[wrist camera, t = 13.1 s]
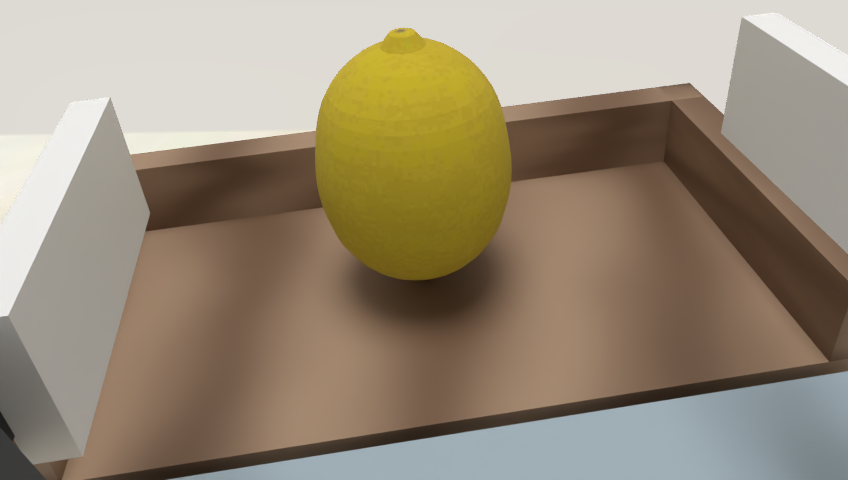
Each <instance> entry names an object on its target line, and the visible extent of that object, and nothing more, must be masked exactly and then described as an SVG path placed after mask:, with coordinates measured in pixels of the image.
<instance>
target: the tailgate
mask: <svg viewBox="0 0 848 480" xmlns="http://www.w3.org/2000/svg"><path fill="white" fill-rule="evenodd" d="M168 480H848V371H846V372H840V373H834V374H827V375H821V376H815V377H809V378H802V379H796V380H790V381H783V382H777V383H771V384H765V385H758V386H752V387H746V388H740V389H733V390H727V391H721V392H714V393H708V394H702V395H696V396H689V397H683V398H677V399H670V400H664V401H658V402H652V403H645V404H639V405H633V406H627V407H620V408H614V409H608V410H601V411H595V412H589V413H583V414H576V415H570V416H564V417H557V418H551V419H545V420H539V421H532V422H526V423H520V424H514V425H507V426H501V427H495V428H488V429H482V430H476V431H470V432H463V433H457V434H451V435H444V436H438V437H432V438H426V439H419V440H413V441H407V442H401V443H394V444H388V445H382V446H375V447H369V448H363V449H357V450H350V451H344V452H338V453H331V454H325V455H319V456H313V457H306V458H300V459H294V460H288V461H281V462H275V463H269V464H262V465H256V466H250V467H244V468H237V469H231V470H225V471H218V472H212V473H206V474H200V475H193V476H187V477H181V478H175V479H168Z"/></svg>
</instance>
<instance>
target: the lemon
mask: <svg viewBox="0 0 848 480" xmlns="http://www.w3.org/2000/svg"><path fill="white" fill-rule="evenodd" d="M315 170H316V180H317V187H318V192H319V196H320V199H321V203H322V206H323V208H324V211H325V213H326V216H327V218H328V220H329V222H330V224H331V226H332V228H333V230H334V231H335V233H336V235H337V237H338V239H339V240H340V241H341V243H342V244H343V246H344V247H345V248H346V249H347V250H348V251H349V252H350V253H351V254H352V255H354V256H355V257H356V258H357V259H358V260H359V261H360V262H361V263H363V264H364V265H366V266H367V267H369V268H371V269H373V270H375V271H377V272H379V273H381V274H384V275H386V276H389V277H393V278H397V279H402V280H428V279H434V278H438V277H442V276H446V275H448V274H450V273H452V272H455V271H457V270H459V269H461V268H462V267H464V266H465V265H467V264H468V263H469V262H471V261H472V260H474V259H475V258H476V257H477V256H478V255H479V254H480V253H481V252H482V251H483V250H484V249H485V247H486V246H487V245H488V243H489V242H490V241H491V240H492V238H493V237H494V235H495V234H496V232H497V230H498V228H499V226H500V224H501V221H502V218H503V215H504V211H505V208H506V205H507V202H508V197H509V193H510V186H511V175H512V164H511V152H510V145H509V138H508V132H507V128H506V123H505V119H504V115H503V111H502V108H501V105H500V103H499V100H498V97H497V95H496V93H495V91H494V89H493V87H492V85H491V84H490V82H489V81H488V79H487V78H486V77H485V75H484V74H483V73H482V72H481V70H480V69H479V68H478V67H477V66H476V65H475V64H474V63H473V62H472V61H471V60H470V59H468V58H467V57H466V56H464V55H463V54H461V53H460V52H458V51H457V50H455V49H453V48H451V47H449V46H447V45H446V44H444V43H441V42H437V41H434V40H430V39H426V38H422V37H421V36H420V35H419V34H418V33H417V32H416V31H415V30H413V29H410V28H398V29H394V30H392V31H390V32H389V33H388V35H387V36H386V38H385V39H384V40H383V41H382V42H379V43H377V44H374V45H372V46H370V47H368V48H366V49H365V50H363V51H361V52H360V53H359V54H357V55H356V56H355V57H354V58H352V59H351V60H350V61H349V62H348V63H347V64H346V65H345V66H344V67H343V68H342V69H341V70H340V71H339V72H338V74H337V75H336V77H335V78H334V79H333V81H332V82H331V84H330V86H329V88H328V90H327V92H326V94H325V96H324V98H323V100H322V104H321V107H320V111H319V115H318V121H317V128H316V142H315Z"/></svg>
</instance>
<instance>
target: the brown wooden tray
mask: <svg viewBox="0 0 848 480" xmlns="http://www.w3.org/2000/svg"><path fill="white" fill-rule="evenodd" d="M501 108H502V111H503V115H504V119H505V123H506V128H507V132H508V138H509V145H510V152H511V164H512V175H511V186H510V193H509V197H508V202H507V205H506V208H505V211H504V215H503V218H502V221H501V224H500V226H499V228H498V230H497V232H496V234H495V235H494V237H493V238H492V240H491V241H490V242H489V243H488V245H487V246H486V247H485V249H484V250H483V251H482V252H481V253H480V254H479V255H478V256H477V257H476V258H475V259H474V260H472V261H471V262H469V263H468V264H467V265H465V266H464V267H462V268H461V269H459V270H457V271H455V272H452V273H450V274H448V275H446V276H442V277H438V278H434V279H428V280H402V279H397V278H393V277H389V276H386V275H384V274H381V273H379V272H377V271H375V270H373V269H371V268H369V267H367V266H366V265H364V264H363V263H361V262H360V261H359V260H358V259H357V258H356V257H355V256H354V255H352V254H351V253H350V252H349V251H348V250H347V249H346V248H345V247H344V246H343V244H342V243H341V241H340V240H339V239H338V237H337V235H336V233H335V231H334V230H333V228H332V226H331V224H330V222H329V220H328V218H327V216H326V213H325V211H324V208H323V206H322V203H321V199H320V196H319V192H318V187H317V180H316V170H315V142H316V131H312V132H304V133H296V134H289V135H281V136H273V137H265V138H257V139H250V140H242V141H234V142H226V143H218V144H211V145H203V146H195V147H187V148H179V149H171V150H164V151H156V152H148V153H140V154H132V155H130V156H131V159H132V162H133V165H134V168H135V170H136V173H137V176H138V179H139V182H140V185H141V188H142V191H143V194H144V197H145V199H146V202H147V205H148V208H149V211H150V216H149V219H148V223H147V226H146V230H145V234H144V237H143V241H142V244H141V248H140V252H139V255H138V259H137V263H136V266H135V270H134V273H133V277H132V281H131V284H130V288H129V291H128V295H127V299H126V302H125V306H124V310H123V313H122V317H121V320H120V324H119V328H118V331H117V335H116V338H115V342H114V346H113V349H112V353H111V357H110V360H109V364H108V367H107V371H106V375H105V378H104V382H103V385H102V389H101V393H100V396H99V400H98V404H97V407H96V411H95V414H94V418H93V422H92V425H91V429H90V432H89V436H88V440H87V443H86V447H85V450H84V454H83V457H77V458H71V459H64V460H58V461H52V462H46V463H40V464H34V466H35V467H36V469H37V470H38V471H39V472H40V473H41V474H42V475H43V476H44V478H45V479H46V480H168V479H175V478H181V477H187V476H193V475H200V474H206V473H212V472H218V471H225V470H231V469H237V468H244V467H250V466H256V465H262V464H269V463H275V462H281V461H288V460H294V459H300V458H306V457H313V456H319V455H325V454H331V453H338V452H344V451H350V450H357V449H363V448H369V447H375V446H382V445H388V444H394V443H401V442H407V441H413V440H419V439H426V438H432V437H438V436H444V435H451V434H457V433H463V432H470V431H476V430H482V429H488V428H495V427H501V426H507V425H514V424H520V423H526V422H532V421H539V420H545V419H551V418H557V417H564V416H570V415H576V414H583V413H589V412H595V411H601V410H608V409H614V408H620V407H627V406H633V405H639V404H645V403H652V402H658V401H664V400H670V399H677V398H683V397H689V396H696V395H702V394H708V393H714V392H721V391H727V390H733V389H740V388H746V387H752V386H758V385H765V384H771V383H777V382H783V381H790V380H796V379H802V378H809V377H815V376H821V375H827V374H834V373H840V372H846V371H848V254H847V253H846V252H845V251H844V250H843V249H842V248H841V247H840V246H839V245H838V244H837V243H836V242H835V241H834V240H833V239H832V238H831V237H830V236H829V235H827V234H826V233H825V232H824V231H823V230H822V229H821V228H820V227H819V226H818V225H817V224H816V223H815V222H814V221H813V220H812V219H811V218H810V217H809V216H808V215H806V214H805V213H804V212H803V211H802V210H801V209H800V208H799V207H798V206H797V205H796V204H795V203H794V202H793V201H792V200H791V199H790V198H789V197H788V196H787V195H785V194H784V193H783V192H782V191H781V190H780V189H779V188H778V187H777V186H776V185H775V184H774V183H773V182H772V181H771V180H770V179H769V178H768V177H767V176H766V175H765V174H763V173H762V172H761V171H760V170H759V169H758V168H757V167H756V166H755V165H754V164H753V163H752V162H751V161H750V160H749V159H748V158H747V157H746V156H745V155H744V154H742V153H741V152H740V151H739V150H738V149H737V148H736V147H735V146H734V145H733V144H732V143H731V142H730V141H729V140H728V139H727V138H726V137H725V136H724V135H723V134H721V130H722V124H723V119H724V115H723V114H722V113H721V112H720V111H719V110H718V109H717V108H716V107H715V106H714V105H713V104H711V103H710V102H709V101H708V100H707V99H706V98H705V97H704V96H703V95H702V94H701V93H700V92H699V91H698V90H697V89H695V88H694V87H693V86H692V85H691V84H690V83H688V84H679V85H671V86H663V87H656V88H648V89H640V90H632V91H625V92H617V93H609V94H601V95H593V96H585V97H578V98H570V99H562V100H554V101H546V102H538V103H531V104H523V105H516V106H507V107H501ZM13 443H14V444H15V445H16V446H17V444H16V443H15V441H14V440H13ZM17 447H18V446H17Z"/></svg>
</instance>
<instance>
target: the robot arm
mask: <svg viewBox="0 0 848 480" xmlns="http://www.w3.org/2000/svg"><path fill="white" fill-rule="evenodd" d="M721 134H723V135H724V136H725V137H726V138H727V139H728V140H729V141H730V142H731V143H732V144H733V145H734V146H735V147H736V148H737V149H738V150H739V151H740V152H741V153H742V154H744V155H745V156H746V157H747V158H748V159H749V160H750V161H751V162H752V163H753V164H754V165H755V166H756V167H757V168H758V169H759V170H760V171H761V172H762V173H763V174H765V175H766V176H767V177H768V178H769V179H770V180H771V181H772V182H773V183H774V184H775V185H776V186H777V187H778V188H779V189H780V190H781V191H782V192H783V193H784V194H785V195H787V196H788V197H789V198H790V199H791V200H792V201H793V202H794V203H795V204H796V205H797V206H798V207H799V208H800V209H801V210H802V211H803V212H804V213H805V214H806V215H808V216H809V217H810V218H811V219H812V220H813V221H814V222H815V223H816V224H817V225H818V226H819V227H820V228H821V229H822V230H823V231H824V232H825V233H826V234H827V235H829V236H830V237H831V238H832V239H833V240H834V241H835V242H836V243H837V244H838V245H839V246H840V247H841V248H842V249H843V250H844V251H845V252H846V253H847V254H848V55H847V54H845V53H843V52H842V51H840V50H838V49H837V48H835V47H833V46H831V45H830V44H828V43H827V42H825V41H823V40H821V39H820V38H818V37H817V36H815V35H813V34H811V33H810V32H808V31H806V30H805V29H803V28H801V27H800V26H798V25H796V24H795V23H793V22H791V21H790V20H788V19H786V18H785V17H783V16H781V15H780V14H778V13H776V12H775V13H767V14H759V15H751V16H743V17H742V19H741V25H740V30H739V36H738V41H737V47H736V52H735V58H734V64H733V69H732V75H731V80H730V86H729V92H728V97H727V102H726V108H725V114H724V119H723V124H722V130H721ZM149 216H150V211H149V208H148V205H147V202H146V199H145V197H144V194H143V191H142V188H141V185H140V182H139V179H138V176H137V173H136V170H135V168H134V165H133V162H132V159H131V156H130V153H129V150H128V147H127V144H126V142H125V139H124V136H123V133H122V130H121V127H120V124H119V122H118V118H117V115H116V113H115V110H114V107H113V104H112V101H111V98H110V97H107V98H101V99H92V100H85V101H76V102H70V104H69V106H68V108H67V109H66V111H65V113H64V115H63V116H62V118H61V120H60V122H59V124H58V125H57V127H56V129H55V131H54V132H53V134H52V136H51V138H50V139H49V141H48V143H47V145H46V146H45V148H44V150H43V152H42V154H41V155H40V157H39V159H38V161H37V162H36V164H35V166H34V168H33V169H32V171H31V173H30V175H29V177H28V178H27V180H26V182H25V184H24V185H23V187H22V189H21V191H20V192H19V194H18V196H17V198H16V200H15V201H14V203H13V205H12V207H11V208H10V210H9V212H8V214H7V216H6V217H5V219H4V221H3V223H2V224H1V226H0V480H46V479H45V478H44V476H43V475H42V474H41V473H40V472H39V471H38V470H37V469H36V467H35V466H34V464H40V463H46V462H52V461H58V460H64V459H71V458H77V457H83V454H84V450H85V447H86V443H87V440H88V436H89V432H90V429H91V425H92V422H93V418H94V414H95V411H96V407H97V404H98V400H99V396H100V393H101V389H102V385H103V382H104V378H105V375H106V371H107V367H108V364H109V360H110V357H111V353H112V349H113V346H114V342H115V338H116V335H117V331H118V328H119V324H120V320H121V317H122V313H123V310H124V306H125V302H126V299H127V295H128V291H129V288H130V284H131V281H132V277H133V273H134V270H135V266H136V263H137V259H138V255H139V252H140V248H141V244H142V241H143V237H144V234H145V230H146V226H147V223H148V219H149ZM13 440H14V441H15V443H16V444H17V446H18V447H17V446H16V445H15V444H14V443H13Z"/></svg>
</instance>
